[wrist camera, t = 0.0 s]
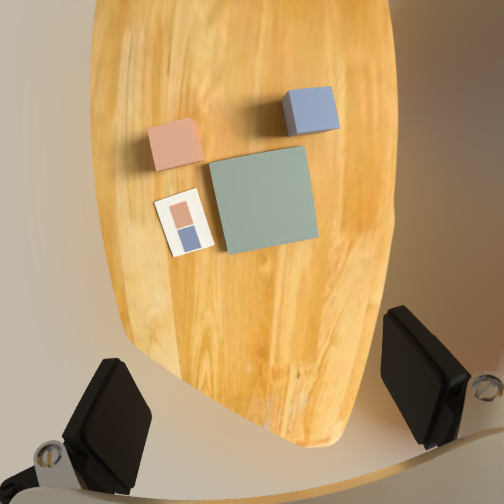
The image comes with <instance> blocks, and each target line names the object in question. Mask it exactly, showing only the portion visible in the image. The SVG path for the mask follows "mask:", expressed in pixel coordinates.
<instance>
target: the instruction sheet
mask: <svg viewBox="0 0 504 504" xmlns="http://www.w3.org/2000/svg"><path fill="white" fill-rule="evenodd" d="M154 203H155V206H156V209H157V212H158V215H159V218H160V221H161V224H162V226H163V229H164V232H165V235H166V238H167V240H168V243H169V246H170V249H171V251H172V254H173V257H176V256H179V255H183V254H186V253H190V252H193V251H196V250H200V249H203V248H207V247H210V246H213V245H215V244H214V241H213V238H212V235H211V232H210V229H209V225H208V222H207V219H206V216H205V213H204V210H203V207H202V204H201V201H200V198H199V194H198V191H197V188H194V189H191V190H188V191H185V192H182V193H179V194H176V195H173V196H170V197H167V198H164V199H162V200H159V201H156V202H154Z"/></svg>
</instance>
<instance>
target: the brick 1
mask: <svg viewBox="0 0 504 504" xmlns="http://www.w3.org/2000/svg"><path fill="white" fill-rule="evenodd" d="M147 130H148V135H149V140H150V145H151V150H152V155H153V160H154V164H155V169H156V171H161V170H167V169H171V168H175V167H179V166H183V165H187V164H191V163H196V162H200V161H204V160H205V156H204V151H203V147H202V142H201V137H200V132H199V127H198V123H197V122H196V121H194V120H193V119H192V118H191V117H190V118H186V119H182V120H178V121H174V122H170V123H167V124H163V125H160V126H156V127H153V128H149V129H147Z"/></svg>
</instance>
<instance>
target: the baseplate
mask: <svg viewBox="0 0 504 504" xmlns="http://www.w3.org/2000/svg"><path fill="white" fill-rule="evenodd" d="M209 167H210V172H211V177H212V182H213V186H214V191H215V196H216V200H217V205H218V209H219V214H220V218H221V223H222V227H223V232H224V236H225V241H226V245H227V250H228V254H229V255H231V254H236V253H241V252H246V251H251V250H256V249H261V248H266V247H271V246H277V245H282V244H287V243H292V242H297V241H302V240H307V239H312V238H317V237H319V235H318V228H317V221H316V214H315V207H314V200H313V194H312V187H311V181H310V175H309V169H308V163H307V157H306V152H305V146H300V147H293V148H287V149H281V150H275V151H269V152H263V153H258V154H252V155H247V156H242V157H237V158H232V159H227V160H222V161H217V162H213V163H209Z"/></svg>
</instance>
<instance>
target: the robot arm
mask: <svg viewBox="0 0 504 504" xmlns="http://www.w3.org/2000/svg"><path fill="white" fill-rule="evenodd" d="M381 377H382V380H383V382H384V383H385V385H386V387H387V389H388V391H389V392H390V394H391V396H392V398H393V399H394V401H395V403H396V405H397V407H398V408H399V410H400V412H401V414H402V416H403V417H404V419H405V421H406V423H407V425H408V426H409V428H410V430H411V432H412V434H413V436H414V438H415V440H416V441H417V443H418V444H423V445H424V447H425V449H426V450H428V449H430V448H433V447H435V446H438V448H436V449H433V450H431V451H429V452H426V453H424V454H421V455H419V456H417V457H414V458H412V459H409V460H406V461H404V462H401V463H398V464H396V465H393V466H390V467H387V468H384V469H381V470H379V471H376V472H372V473H369V474H366V475H363V476H359V477H356V478H353V479H349V480H345V481H341V482H338V483H334V484H329V485H325V486H321V487H316V488H311V489H307V490H301V491H296V492H290V493H283V494H277V495H270V496H261V497H252V498H241V499H226V500H166V499H150V498H139V497H131V496H122V495H115V493H117V494H124V495H129V494H130V490H131V488H133V487H134V486H135V482H136V478H137V474H138V470H139V466H140V461H141V458H142V454H143V450H144V446H145V442H146V438H147V435H148V431H149V427H150V424H151V420H152V414H151V411H150V409H149V407H148V405H147V404H146V402H145V400H144V398H143V397H142V395H141V393H140V391H139V389H138V387H137V386H136V384H135V382H134V380H133V378H132V376H131V374H130V372H129V370H128V368H127V367H126V364H125V363H124V362H122V361H120V359H119V358H110V359H103V360H102V362H101V364H100V365H99V367H98V369H97V371H96V372H95V374H94V376H93V378H92V380H91V381H90V383H89V385H88V387H87V389H86V390H85V392H84V394H83V396H82V398H81V400H80V402H79V403H78V406H77V407H76V409H75V411H74V413H73V415H72V417H71V419H70V421H69V423H68V425H67V427H66V429H65V431H64V433H63V435H62V437H63V439H64V440H65V441H64V443H63V444H62V443H61V442H59V441H55V440H52V441H48V442H45V443H43V444H42V445H41V446H40V447H39V448H38V449H37V450H36V452H35V454H34V466H32V467H30V468H28V469H26V470H24V471H22V472H20V473H18V474H16V475H14V476H12V477H10V478H8V479H6V480H5V481H4V482H3V483H2V484H1V486H0V504H504V378H503V377H502V376H501V375H499V374H497V373H495V372H490V371H487V372H480V373H477V374H475V375H474V376H471V375H470V374H469V373H468V372H467V370H466V369H465V368H464V367H463V366H462V365H461V364H460V363H459V361H457V359H456V358H455V357H454V356H453V355H452V354H451V353H450V351H449V350H448V349H447V348H446V347H445V346H444V345H443V344H442V343H441V342H440V341H439V340H438V339H437V338H436V336H434V335H433V334H432V333H431V332H430V331H429V330H428V329H427V328H426V327H425V326H424V325H423V324H422V323H421V322H420V321H419V320H418V319H417V318H416V317H415V316H414V315H413V314H412V313H411V312H410V311H409V310H408V309H407V308H406V307H405V306H404V305H402V306H398V307H395V308H391V309H389V310H388V312H387V314H385V315H384V317H383V340H382V357H381Z"/></svg>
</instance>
